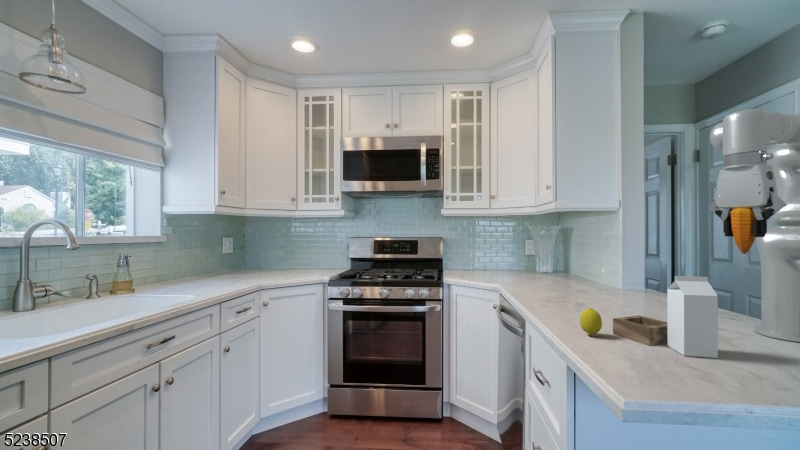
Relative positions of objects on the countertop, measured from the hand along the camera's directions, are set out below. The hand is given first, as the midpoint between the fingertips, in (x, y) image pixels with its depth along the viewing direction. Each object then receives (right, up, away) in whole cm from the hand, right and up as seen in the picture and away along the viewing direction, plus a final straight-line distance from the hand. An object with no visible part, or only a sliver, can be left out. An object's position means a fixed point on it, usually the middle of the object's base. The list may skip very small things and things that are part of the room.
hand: (744, 235), depth 83 cm
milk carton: (-11, -29, +2) cm, 32 cm away
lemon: (-29, -29, +15) cm, 44 cm away
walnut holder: (-15, -29, +13) cm, 36 cm away
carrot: (0, -5, 0) cm, 5 cm away
